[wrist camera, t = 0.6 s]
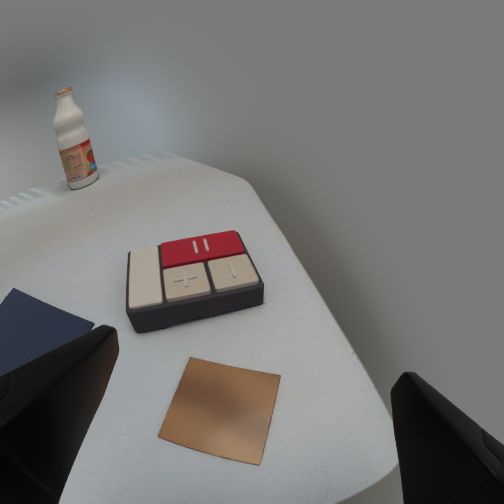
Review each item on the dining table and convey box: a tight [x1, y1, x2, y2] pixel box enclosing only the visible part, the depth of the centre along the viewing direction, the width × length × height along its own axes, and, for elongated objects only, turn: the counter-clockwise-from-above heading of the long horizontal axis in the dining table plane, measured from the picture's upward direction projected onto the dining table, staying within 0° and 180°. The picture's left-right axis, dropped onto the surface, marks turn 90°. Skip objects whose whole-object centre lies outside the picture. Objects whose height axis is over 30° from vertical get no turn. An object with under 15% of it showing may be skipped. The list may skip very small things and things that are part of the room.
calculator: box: [126, 230, 264, 333], centre depth 32 cm, size 11×4×15 cm
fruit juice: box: [53, 87, 98, 189], centre depth 57 cm, size 9×9×28 cm
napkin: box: [0, 288, 94, 375], centre depth 24 cm, size 20×22×1 cm
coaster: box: [158, 357, 280, 465], centre depth 21 cm, size 9×9×1 cm
